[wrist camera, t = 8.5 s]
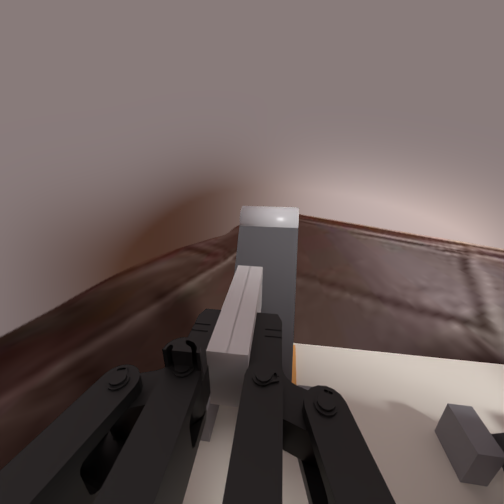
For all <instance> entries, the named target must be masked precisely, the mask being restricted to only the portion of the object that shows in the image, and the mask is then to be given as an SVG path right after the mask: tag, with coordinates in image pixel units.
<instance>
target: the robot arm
mask: <svg viewBox="0 0 504 504" xmlns="http://www.w3.org/2000/svg"><path fill="white" fill-rule="evenodd" d="M262 277H263V267H256V266H242V265H238V267H237V270H236V272H235V275H234V278H233V280H232V283H231V286H230V288H229V291H228V294H227V296H226V299H225V302H224V304H223V307H222V310H215V309H205V310H204V311H203V312H202V313H201V314H199V316H198V318H197V320H196V322H195V324H194V326H193V328H192V331H191V332H190V334H189V336H188V337H183V338H178V339H175V340H172V341H171V342H169V343H168V344H166V346H165V347H164V348H163V349H162V351H163V356H164V362H165V368H163V369H160V370H156V371H150V372H145V373H140V372H139V369H138V368H137V367H135V366H134V365H128V364H127V365H121V366H117V367H115V368H113V369H111V370H109V371H108V372H107V373H105V374H104V375H103V376H102V377H101V378H100V379H99V380H97V381H96V382H95V383H94V384H93V385H92V386H91V387H90V388H89V389H88V390H87V391H86V392H84V393H83V394H82V395H81V396H80V397H79V398H78V399H77V400H76V401H75V402H74V403H73V404H72V405H70V406H69V407H68V408H67V409H66V410H65V411H64V412H63V413H62V414H61V415H60V416H59V417H57V418H56V419H55V420H54V421H53V422H52V423H51V424H50V425H49V426H48V427H47V428H46V429H45V430H43V431H42V432H41V433H40V434H39V435H38V436H37V437H36V438H35V439H34V440H33V441H32V442H30V443H29V444H28V445H27V446H26V447H25V448H24V449H23V450H22V451H21V452H20V453H19V454H18V455H16V456H15V457H14V458H13V459H12V460H11V461H10V462H9V463H8V464H7V465H6V466H5V467H3V468H2V469H1V470H0V504H183V500H184V497H185V493H186V490H187V486H188V482H189V479H190V475H191V472H192V468H193V465H194V461H195V457H196V454H197V450H198V447H199V443H200V440H201V436H202V432H203V429H204V425H205V422H206V416H207V410H206V406H207V403H208V400H209V396H210V404H217V405H225V406H232V407H239V409H238V415H237V421H236V426H235V432H234V438H233V444H232V450H231V455H230V461H229V467H228V473H227V479H226V484H225V490H224V496H223V502H222V504H282V474H283V450H284V451H286V452H288V453H290V454H291V455H293V456H295V457H297V459H298V463H299V467H300V471H301V475H302V479H303V483H304V487H305V491H306V495H307V499H308V503H309V504H396V503H395V501H394V499H393V497H392V495H391V493H390V490H389V488H388V486H387V484H386V482H385V480H384V478H383V476H382V474H381V472H380V470H379V468H378V466H377V464H376V462H375V460H374V458H373V456H372V454H371V452H370V450H369V448H368V446H367V444H366V442H365V440H364V437H363V435H362V433H361V431H360V429H359V427H358V425H357V423H356V421H355V419H354V417H353V415H352V413H351V411H350V409H349V407H348V405H347V403H346V401H345V400H344V398H343V397H342V396H341V394H339V393H338V392H337V391H336V390H334V389H332V388H330V387H327V386H321V385H317V386H314V387H311V388H310V389H309V390H306V389H304V388H302V387H299V386H297V385H295V384H294V383H292V382H291V381H290V380H289V379H288V378H287V377H286V376H285V374H284V372H283V370H282V321H281V319H280V317H279V315H278V314H270V313H261V306H262Z"/></svg>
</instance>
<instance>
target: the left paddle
mask: <svg viewBox="0 0 504 504" xmlns="http://www.w3.org/2000/svg"><path fill="white" fill-rule="evenodd" d="M298 222H299V208H293V207H262V206H242V209H241V213H240V227H239V236H238V246H237V255H236V264H235V272H236V270H237V267H238V265H242V266H256V267H263V277H262V306H261V313H270V314H278V315H279V317H280V319H281V321H282V370H283V372H284V374H285V376H286V377H287V378H288V379H289V380H290V381H291V382H292V362H293V338H294V314H295V290H296V266H297V242H298ZM234 275H235V273H234Z"/></svg>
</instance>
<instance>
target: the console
mask: <svg viewBox="0 0 504 504" xmlns="http://www.w3.org/2000/svg"><path fill="white" fill-rule="evenodd" d="M292 383H294V384H295V385H297V386H299V387H302V388H304V389H306V390H309V389H310V388H311V387H314V386H317V385H321V386H327V387H330V388H332V389H334V390H336V391H337V392H338V393H339V394H341V396H342V397H343V398H344V400H345V401H346V403H347V405H348V407H349V409H350V411H351V413H352V415H353V417H354V419H355V421H356V423H357V425H358V427H359V429H360V431H361V433H362V435H363V437H364V440H365V442H366V444H367V446H368V448H369V450H370V452H371V454H372V456H373V458H374V460H375V462H376V464H377V466H378V468H379V470H380V472H381V474H382V476H383V478H384V480H385V482H386V484H387V486H388V488H389V490H390V493H391V495H392V497H393V499H394V501H395V503H396V504H504V471H503V468H502V466H503V464H504V452H503V451H502V449H501V448H500V446H499V445H498V443H497V442H496V440H495V439H494V438H493V436H492V435H491V434H495V433H504V365H503V364H493V363H483V362H473V361H463V360H454V359H444V358H434V357H424V356H414V355H405V354H395V353H385V352H375V351H366V350H356V349H346V348H336V347H326V346H317V345H307V344H297V343H293V362H292ZM238 409H239V407H232V406H225V405H217V404H210V396H209V400H208V403H207V406H206V410H207V416H206V422H205V425H204V429H203V432H202V436H201V440H200V443H199V447H198V450H197V454H196V457H195V461H194V465H193V468H192V472H191V475H190V479H189V482H188V486H187V490H186V493H185V497H184V500H183V504H222V502H223V496H224V490H225V484H226V479H227V473H228V467H229V461H230V455H231V450H232V444H233V438H234V432H235V426H236V421H237V415H238ZM282 504H309V503H308V499H307V495H306V491H305V487H304V483H303V479H302V475H301V471H300V467H299V463H298V459H297V457H295V456H293V455H291V454H290V453H288V452H286V451H284V450H283V474H282Z"/></svg>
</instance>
